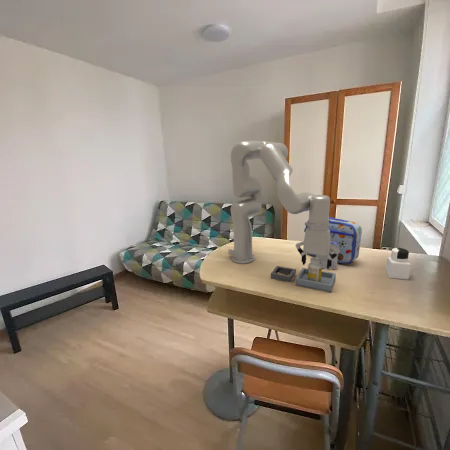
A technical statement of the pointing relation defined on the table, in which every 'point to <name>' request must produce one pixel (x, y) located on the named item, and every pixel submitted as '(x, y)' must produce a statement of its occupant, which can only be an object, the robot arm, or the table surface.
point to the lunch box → (345, 238)
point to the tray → (324, 285)
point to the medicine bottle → (398, 264)
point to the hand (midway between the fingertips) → (315, 265)
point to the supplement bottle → (314, 270)
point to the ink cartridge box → (325, 258)
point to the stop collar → (281, 277)
